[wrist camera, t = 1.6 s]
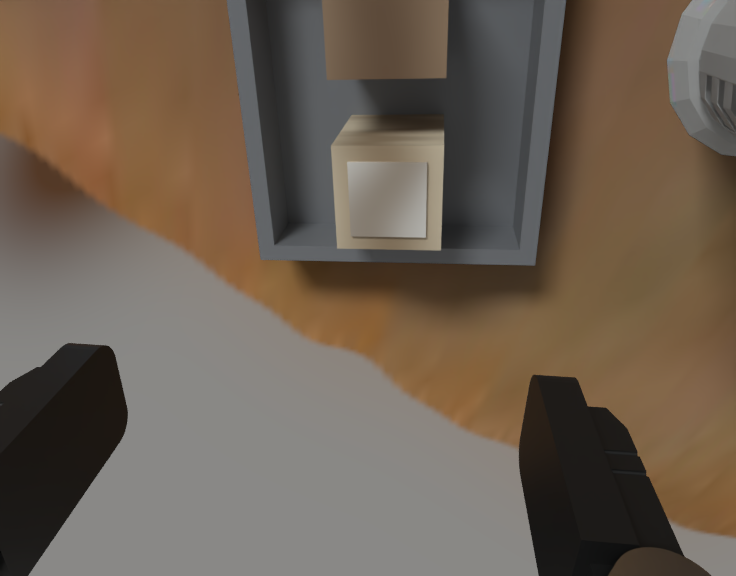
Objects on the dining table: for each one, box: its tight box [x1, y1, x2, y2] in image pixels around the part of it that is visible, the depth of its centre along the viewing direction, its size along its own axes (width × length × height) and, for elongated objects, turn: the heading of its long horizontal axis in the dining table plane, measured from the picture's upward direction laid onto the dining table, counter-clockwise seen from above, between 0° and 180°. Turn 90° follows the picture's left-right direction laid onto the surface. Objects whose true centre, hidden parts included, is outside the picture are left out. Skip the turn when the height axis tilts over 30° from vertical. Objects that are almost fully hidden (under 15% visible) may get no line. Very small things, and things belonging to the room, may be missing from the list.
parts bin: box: [227, 0, 566, 265], centre depth 26 cm, size 14×16×4 cm
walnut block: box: [322, 0, 449, 80], centre depth 23 cm, size 4×4×6 cm
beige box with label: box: [331, 114, 444, 250], centre depth 26 cm, size 4×4×6 cm
